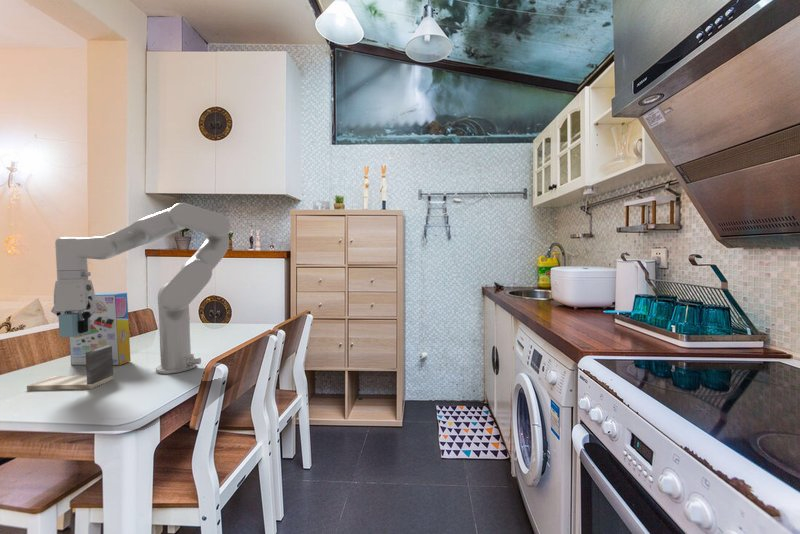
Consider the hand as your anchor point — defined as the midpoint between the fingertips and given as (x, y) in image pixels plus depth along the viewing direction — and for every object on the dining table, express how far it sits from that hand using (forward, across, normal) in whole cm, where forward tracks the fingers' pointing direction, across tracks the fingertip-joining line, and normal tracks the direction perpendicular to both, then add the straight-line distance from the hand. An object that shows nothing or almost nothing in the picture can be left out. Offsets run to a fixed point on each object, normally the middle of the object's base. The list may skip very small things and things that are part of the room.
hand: (75, 331), depth 121 cm
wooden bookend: (+17, +2, 0) cm, 17 cm away
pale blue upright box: (+1, 0, 0) cm, 1 cm away
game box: (+17, +11, -24) cm, 32 cm away
